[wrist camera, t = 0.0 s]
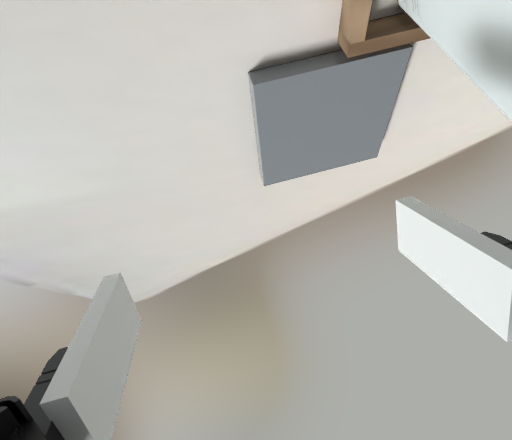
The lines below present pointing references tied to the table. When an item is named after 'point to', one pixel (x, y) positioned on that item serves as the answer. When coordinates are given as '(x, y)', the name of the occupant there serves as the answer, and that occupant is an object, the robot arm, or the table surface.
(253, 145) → the table surface
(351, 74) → the slate trivet
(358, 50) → the walnut holder
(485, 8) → the supplement box
